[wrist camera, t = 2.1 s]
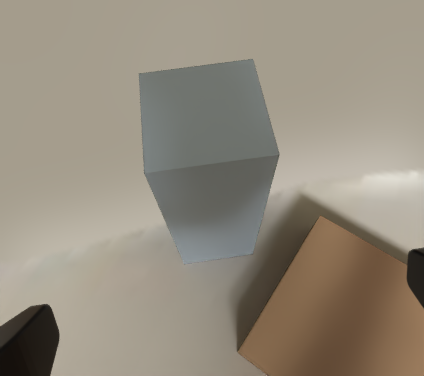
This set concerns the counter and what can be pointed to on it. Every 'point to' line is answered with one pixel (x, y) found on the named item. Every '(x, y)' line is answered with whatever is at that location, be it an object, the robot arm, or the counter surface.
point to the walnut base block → (339, 313)
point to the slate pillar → (208, 156)
